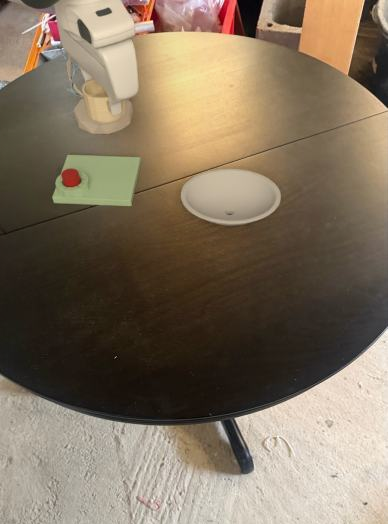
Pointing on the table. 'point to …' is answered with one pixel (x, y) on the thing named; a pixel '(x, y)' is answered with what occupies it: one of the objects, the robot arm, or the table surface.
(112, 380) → the table surface
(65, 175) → the button
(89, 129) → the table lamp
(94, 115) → the beige cup
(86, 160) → the green base plate
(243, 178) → the dish
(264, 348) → the table surface
